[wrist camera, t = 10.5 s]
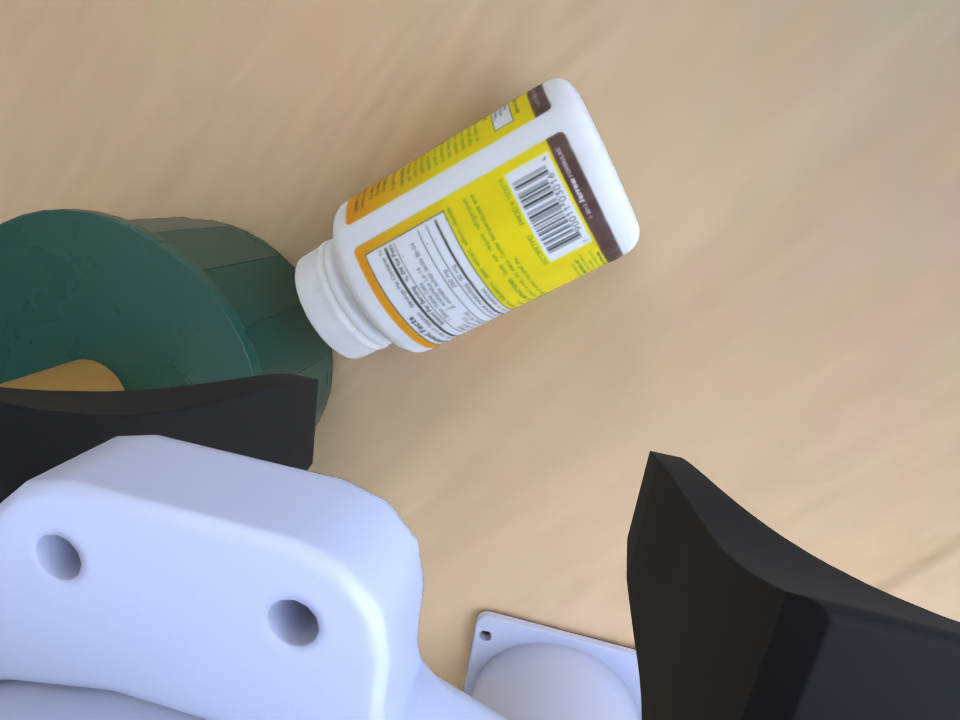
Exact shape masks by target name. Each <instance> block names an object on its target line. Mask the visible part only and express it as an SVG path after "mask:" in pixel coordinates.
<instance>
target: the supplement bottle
mask: <svg viewBox="0 0 960 720" xmlns="http://www.w3.org/2000/svg"><path fill="white" fill-rule="evenodd" d="M638 239H639V225H638V222H637V219H636V217H635V214H634V212H633V209H632V207H631V205H630V202H629V200H628V198H627V195H626V193H625V191H624V188H623V186H622V184H621V182H620V179H619V177H618V175H617V173H616V170H615V168H614V166H613V164H612V161H611V159H610V157H609V155H608V153H607V150H606V148H605V146H604V144H603V142H602V139H601V137H600V135H599V133H598V131H597V129H596V127H595V125H594V123H593V121H592V118H591V116H590V114H589V112H588V110H587V108H586V106H585V105H584V103H583V101H582V99H581V97H580V95H579V94H578V92H577V90H576V89H575V87H574V86H573V85H572V84H571V83H570V82H569V81H567V80H565V79H561V78H554V79H550V80H548V81H545V82H544V83H542V84H540V85H539V86H537V87H535V88H533V89H532V90H530V91H528V92H527V93H525V94H524V95H522V96H520V97H518V98H517V99H515V100H513V101H512V102H510V103H508V104H506V105H505V106H503V107H502V108H500V109H498V110H497V111H495V112H493V113H492V114H490V115H489V116H487V117H485V118H484V119H482V120H480V121H479V122H477V123H475V124H474V125H472V126H470V127H469V128H467V129H465V130H464V131H462V132H460V133H458V134H457V135H455V136H454V137H452V138H450V139H449V140H447V141H445V142H444V143H442V144H440V145H439V146H437V147H436V148H434V149H432V150H431V151H429V152H427V153H426V154H424V155H422V156H421V157H419V158H417V159H416V160H414V161H412V162H411V163H409V164H407V165H406V166H404V167H402V168H401V169H399V170H397V171H396V172H394V173H392V174H391V175H389V176H387V177H386V178H384V179H382V180H381V181H379V182H377V183H375V184H374V185H372V186H370V187H369V188H367V189H365V190H364V191H362V192H360V193H359V194H357V195H355V196H354V197H352V198H351V199H349V200H348V201H346V202H345V203H344V204H342V205H341V207H340V208H339V209H338V211H337V213H336V216H335V218H334V223H333V238H332V239H331V240H327V241H325V242H323V243H322V244H321V245H320V246H319V247H318V248H316V249H314V250H313V251H311V252H310V253H308V254H306V255H305V256H303V257H302V258H301V259H300V260H299V261H298V263H297V266H296V269H295V284H296V290H297V293H298V297H299V300H300V303H301V305H302V307H303V309H304V311H305V314H306V316H307V318H308V319H309V321H310V323H311V324H312V326H313V327H314V329H315V330H316V331H317V333H318V334H319V336H320V337H321V338H322V339H323V340H324V341H325V342H326V343H327V344H328V345H329V346H330V347H331V348H332V349H333V350H335V351H336V352H338V353H339V354H341V355H343V356H345V357H347V358H352V359H357V358H361V357H364V356H366V355H368V354H370V353H372V352H374V351H377V350H379V349H384V348H386V347H387V346H388V345H389V344H391V343H393V344H395V345H397V346H398V347H400V348H402V349H405V350H407V351H411V352H424V351H428V350H430V349H433V348H435V347H437V346H439V345H441V344H443V343H445V342H447V341H449V340H451V339H453V338H455V337H457V336H459V335H461V334H463V333H466V332H468V331H470V330H472V329H474V328H476V327H478V326H480V325H482V324H484V323H486V322H488V321H490V320H492V319H494V318H496V317H498V316H500V315H502V314H505V313H506V312H508V311H510V310H512V309H515V308H517V307H519V306H521V305H523V304H525V303H527V302H529V301H531V300H533V299H535V298H537V297H539V296H541V295H543V294H545V293H547V292H549V291H551V290H553V289H556V288H558V287H560V286H562V285H564V284H566V283H568V282H570V281H572V280H574V279H576V278H578V277H580V276H582V275H584V274H586V273H588V272H590V271H592V270H594V269H597V268H599V267H601V266H603V265H605V264H607V263H609V262H611V261H613V260H615V259H618V258H619V257H621V256H623V255H624V254H626V253H628V252H629V251H631V250H632V249H633V248H634V246H635V245H636V243H637V241H638Z"/></svg>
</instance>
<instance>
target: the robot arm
mask: <svg viewBox="0 0 960 720" xmlns="http://www.w3.org/2000/svg"><path fill="white" fill-rule="evenodd" d="M318 381H319V379H314V378H310V377H305V376H300V375H296V374H285V373H284V374H268V375H259V376H251V377H244V378H237V379H230V380H223V381H217V382H209V383H201V384H193V385H185V386H176V387H168V388H157V389H144V390H125V391H54V390H33V389H17V388H5V387H0V720H960V622H957V621H954V620H952V619H949V618H946V617H943V616H941V615H938V614H935V613H933V612H931V611H928V610H926V609H923V608H921V607H919V606H916V605H914V604H911V603H909V602H906V601H904V600H902V599H899V598H897V597H894V596H892V595H890V594H888V593H886V592H883V591H881V590H879V589H877V588H875V587H872V586H870V585H868V584H866V583H864V582H862V581H860V580H858V579H856V578H854V577H852V576H850V575H848V574H846V573H844V572H842V571H840V570H838V569H837V568H835V567H833V566H831V565H829V564H827V563H825V562H824V561H822V560H820V559H818V558H816V557H815V556H813V555H811V554H810V553H808V552H806V551H805V550H803V549H801V548H800V547H798V546H797V545H795V544H793V543H792V542H790V541H789V540H787V539H785V538H784V537H782V536H781V535H779V534H778V533H776V532H775V531H773V530H772V529H771V528H769V527H768V526H766V525H765V524H764V523H762V522H761V521H760V520H758V519H757V518H756V517H754V516H753V515H752V514H750V513H749V512H748V511H746V510H745V509H744V508H743V507H741V506H740V505H739V504H738V503H736V502H735V501H734V500H733V499H731V498H730V497H729V496H728V495H727V494H725V493H724V492H723V491H722V490H721V489H720V488H718V487H717V486H716V485H715V484H714V483H713V482H711V481H710V480H709V479H708V478H707V477H706V476H705V475H703V474H702V473H701V472H700V471H699V470H698V469H696V468H695V467H694V466H693V465H691V464H690V463H689V462H687V461H686V460H684V459H683V458H680V457H676V456H671V455H666V454H662V453H657V452H653V451H650V453H649V457H648V461H647V465H646V469H645V472H644V476H643V480H642V484H641V488H640V492H639V496H638V499H637V503H636V507H635V511H634V515H633V519H632V523H631V527H630V530H629V534H628V539H627V585H628V594H629V602H630V610H631V617H632V625H633V632H634V640H635V647H636V650H635V649H631V648H627V647H623V646H619V645H616V644H612V643H608V642H604V641H600V640H597V639H593V638H589V637H585V636H581V635H578V634H574V633H570V632H566V631H562V630H559V629H555V628H551V627H547V626H544V625H540V624H536V623H532V622H528V621H525V620H521V619H517V618H513V617H509V616H506V615H502V614H498V613H494V612H490V611H484V612H481V613H480V614H479V615H478V618H477V621H476V625H475V631H474V636H473V642H472V647H471V653H470V659H469V664H468V670H467V675H466V681H465V686H464V692H463V691H461V690H459V689H458V688H456V687H454V686H453V685H451V684H450V683H448V682H446V681H445V680H443V679H441V678H440V677H438V676H437V675H435V674H434V673H433V672H432V671H431V670H430V669H429V668H428V666H427V665H426V664H425V663H424V661H423V660H422V658H421V655H420V652H419V648H418V622H419V615H420V608H421V601H422V595H423V588H424V580H423V573H422V566H421V560H420V553H419V546H418V540H417V539H416V538H415V536H414V535H413V534H412V533H411V531H410V530H409V529H408V527H407V526H406V525H405V523H404V522H403V521H402V519H401V518H400V517H399V516H398V514H397V513H396V512H395V510H394V509H393V508H392V506H391V505H390V504H389V502H387V501H385V500H383V499H381V498H379V497H377V496H375V495H373V494H371V493H369V492H367V491H365V490H363V489H361V488H359V487H358V486H356V485H354V484H352V483H350V482H348V481H346V480H343V479H339V478H335V477H331V476H326V475H322V474H318V473H314V472H310V471H307V470H308V469H309V467H310V466H311V464H312V461H313V448H314V435H315V421H316V408H317V394H318ZM482 631H487V632H489V633H490V635H486V634H484V633H483V632H482Z"/></svg>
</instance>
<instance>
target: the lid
mask: <svg viewBox="0 0 960 720" xmlns="http://www.w3.org/2000/svg"><path fill="white" fill-rule="evenodd" d="M259 375H262V371H261V368H260V364H259V360H258V358H257V355H256V353H255V350H254V348H253V345H252V343H251V340H250V338H249V336H248V334H247V332H246V330H245V328H244V326H243V324H242V323H241V321H240V319H239V317H238V315H237V313H236V312H235V311H234V309H233V308H232V306H231V305H230V303H229V302H228V300H227V299H226V297H225V296H224V294H223V293H222V292H221V291H220V289H219V288H218V287H217V286H216V285H215V284H214V282H213V281H212V280H211V279H210V278H209V277H208V275H207V274H206V273H205V272H204V271H203V270H202V269H201V268H200V267H199V266H198V265H196V264H195V263H194V262H193V261H192V260H191V259H190V258H189V257H188V256H187V255H186V254H184V253H183V252H182V251H180V250H179V249H178V248H176V247H175V246H173V245H172V244H171V243H169V242H168V241H167V240H165V239H164V238H162V237H160V236H158V235H157V234H155V233H153V232H151V231H150V230H148V229H146V228H144V227H142V226H140V225H138V224H135V223H133V222H130V221H128V220H125V219H123V218H120V217H117V216H113V215H109V214H105V213H101V212H98V211H89V210H80V209H59V210H42V211H37V212H33V213H28V214H24V215H21V216H18V217H16V218H13V219H11V220H8V221H6V222H4V223H2V224H0V387H5V388H17V389H33V390H54V391H125V390H144V389H157V388H168V387H176V386H185V385H193V384H201V383H209V382H217V381H223V380H230V379H237V378H244V377H251V376H259Z"/></svg>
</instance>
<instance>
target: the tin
mask: <svg viewBox="0 0 960 720" xmlns="http://www.w3.org/2000/svg"><path fill="white" fill-rule="evenodd" d="M128 221H130V222H133V223H135V224H138V225H140V226H142V227H144V228H146V229H148V230H150V231H151V232H153V233H155V234H157V235H158V236H160V237H162V238H164V239H165V240H167V241H168V242H169V243H171V244H172V245H173V246H175V247H176V248H178V249H179V250H180V251H182V252H183V253H184V254H186V255H187V256H188V257H189V258H190V259H191V260H192V261H193V262H194V263H195V264H196V265H198V266H199V267H200V268H201V269H202V270H203V271H204V272H205V273H206V274H207V275H208V277H209V278H210V279H211V280H212V281H213V282H214V284H215V285H216V286H217V287H218V288H219V289H220V291H221V292H222V293H223V294H224V296H225V297H226V299H227V300H228V302H229V303H230V305H231V306H232V308H233V309H234V311H235V312H236V313H237V315H238V317H239V319H240V321H241V323H242V324H243V326H244V328H245V330H246V332H247V334H248V336H249V338H250V340H251V343H252V345H253V348H254V350H255V353H256V355H257V358H258V360H259V364H260V368H261V371H262V375H268V374H284V373H285V374H296V375H300V376H305V377H310V378H314V379H319V381H318V394H317V408H316V421H315V426H316V425H317V423H318V422H319V420H320V418H321V415H322V413H323V411H324V409H325V406H326V403H327V400H328V396H329V393H330V387H331V380H332V353H331V347H330V346H329V345H328V344H327V343H326V342H325V341H324V340H323V339H322V338H321V337H320V336H319V334H318V333H317V331H316V330H315V329H314V327H313V326H312V324H311V323H310V321H309V319H308V318H307V316H306V314H305V311H304V309H303V307H302V305H301V303H300V300H299V297H298V293H297V290H296V284H295V269H294V267H293V266H292V265H291V264H290V263H289V262H288V261H287V260H286V259H285V258H284V257H283V256H282V255H281V254H280V253H278V252H277V251H276V250H275V249H273V248H272V247H271V246H269V245H268V244H267V243H265V242H264V241H263V240H261V239H259V238H257V237H256V236H254V235H252V234H250V233H249V232H247V231H244V230H242V229H239V228H237V227H235V226H232V225H229V224H225V223H221V222H217V221H211V220H202V219H190V218H185V217H174V218H154V219H135V220H128Z"/></svg>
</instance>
